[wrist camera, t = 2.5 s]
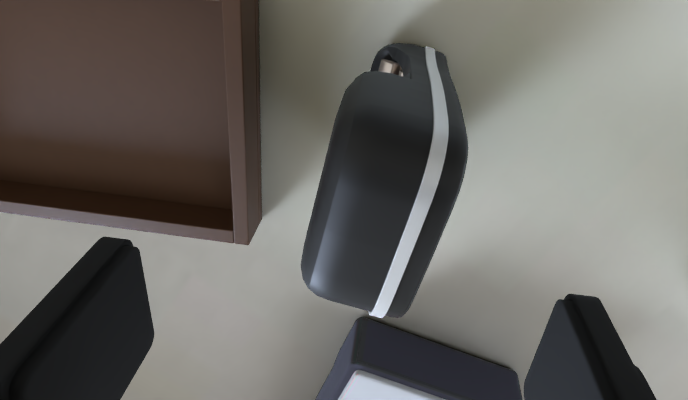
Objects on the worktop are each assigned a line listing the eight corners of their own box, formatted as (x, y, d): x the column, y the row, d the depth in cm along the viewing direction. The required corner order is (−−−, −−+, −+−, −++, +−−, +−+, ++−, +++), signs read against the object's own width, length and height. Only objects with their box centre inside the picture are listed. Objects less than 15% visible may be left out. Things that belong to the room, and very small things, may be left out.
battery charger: (367, 23, 21) (328, 111, 12) (450, 47, 21) (481, 154, 12) (331, 160, 25) (279, 316, 15) (403, 180, 25) (396, 347, 15)
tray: (258, -25, 21) (240, -18, 19) (262, 219, 27) (248, 245, 25) (-118, -61, 22) (-178, -59, 20) (-30, 181, 28) (-68, 203, 26)
